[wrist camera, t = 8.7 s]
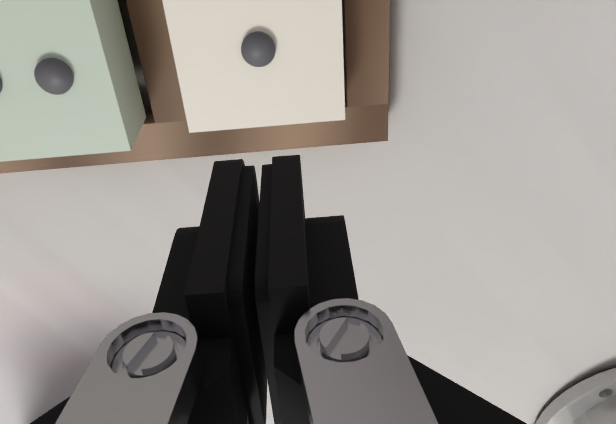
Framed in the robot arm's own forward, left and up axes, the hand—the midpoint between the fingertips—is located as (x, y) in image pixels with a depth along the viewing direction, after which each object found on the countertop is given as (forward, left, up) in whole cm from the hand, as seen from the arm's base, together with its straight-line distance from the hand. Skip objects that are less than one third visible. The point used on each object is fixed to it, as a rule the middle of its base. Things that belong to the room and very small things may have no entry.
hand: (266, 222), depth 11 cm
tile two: (+8, 0, -12) cm, 15 cm away
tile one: (0, 0, -13) cm, 13 cm away
